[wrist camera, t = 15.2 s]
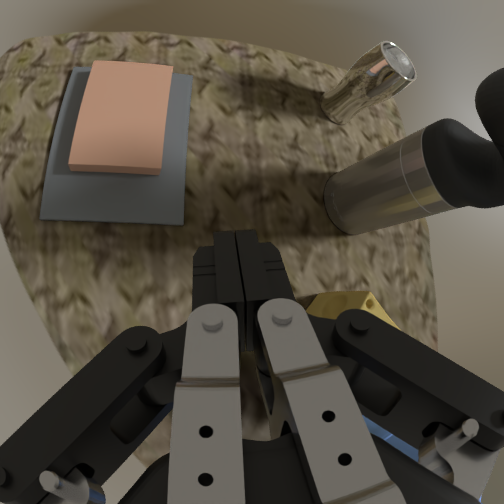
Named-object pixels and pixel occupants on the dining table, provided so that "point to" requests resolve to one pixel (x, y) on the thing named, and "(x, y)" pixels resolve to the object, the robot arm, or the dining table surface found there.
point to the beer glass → (369, 82)
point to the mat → (118, 184)
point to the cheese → (346, 304)
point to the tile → (122, 119)
